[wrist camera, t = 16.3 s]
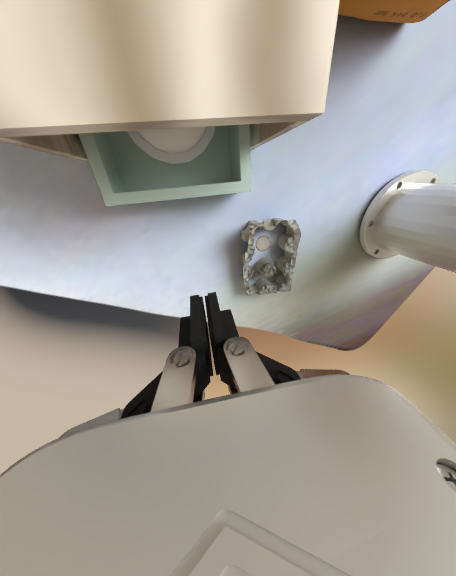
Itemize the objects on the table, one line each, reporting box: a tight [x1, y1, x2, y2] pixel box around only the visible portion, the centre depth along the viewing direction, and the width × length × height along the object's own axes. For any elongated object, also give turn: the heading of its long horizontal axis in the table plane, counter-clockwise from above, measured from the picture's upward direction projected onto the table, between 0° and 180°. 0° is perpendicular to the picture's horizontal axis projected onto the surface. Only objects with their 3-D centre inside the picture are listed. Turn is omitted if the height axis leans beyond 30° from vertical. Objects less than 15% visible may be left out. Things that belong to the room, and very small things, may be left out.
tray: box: [78, 124, 251, 207], centre depth 17 cm, size 14×12×4 cm
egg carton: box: [241, 218, 301, 295], centre depth 26 cm, size 11×8×4 cm
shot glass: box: [127, 126, 215, 164], centre depth 15 cm, size 7×7×7 cm
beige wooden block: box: [0, 0, 340, 162], centre depth 12 cm, size 17×10×13 cm, turn 95°
